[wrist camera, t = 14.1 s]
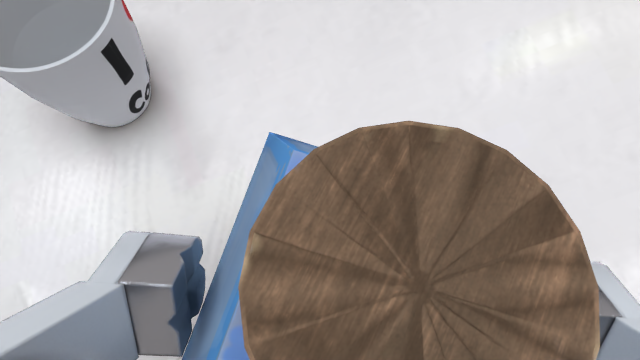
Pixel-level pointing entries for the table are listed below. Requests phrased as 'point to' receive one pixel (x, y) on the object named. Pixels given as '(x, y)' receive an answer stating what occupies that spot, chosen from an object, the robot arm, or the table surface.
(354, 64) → the table surface
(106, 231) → the table surface
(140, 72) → the cup
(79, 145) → the table surface
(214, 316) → the perfume bottle
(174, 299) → the robot arm
